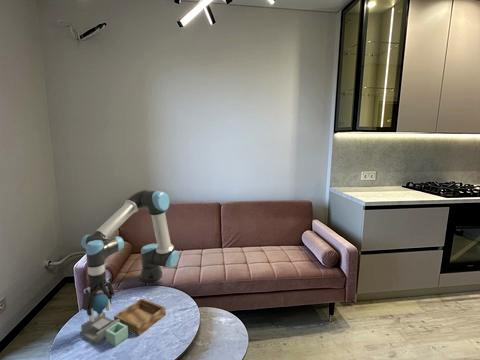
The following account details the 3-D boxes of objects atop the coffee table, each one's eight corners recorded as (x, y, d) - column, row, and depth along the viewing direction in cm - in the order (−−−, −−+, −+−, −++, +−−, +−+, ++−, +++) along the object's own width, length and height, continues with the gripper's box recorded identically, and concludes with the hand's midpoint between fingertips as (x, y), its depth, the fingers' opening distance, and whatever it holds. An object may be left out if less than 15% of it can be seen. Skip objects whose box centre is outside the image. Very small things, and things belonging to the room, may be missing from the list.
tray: (142, 305, 160) (141, 298, 160) (165, 315, 151) (165, 307, 151) (114, 323, 144) (113, 316, 144) (139, 335, 135) (138, 327, 135)
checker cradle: (105, 319, 148) (104, 310, 147) (122, 327, 141) (122, 318, 141) (79, 335, 136) (78, 325, 135) (97, 345, 129) (96, 335, 129)
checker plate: (102, 320, 142) (102, 318, 142) (110, 323, 139) (110, 321, 139) (91, 326, 137) (91, 325, 137) (99, 330, 134) (99, 329, 134)
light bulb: (101, 323, 133) (100, 300, 131) (86, 320, 134) (84, 298, 132) (113, 312, 141) (111, 290, 139) (98, 310, 142) (96, 288, 141)
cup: (118, 332, 138) (118, 321, 137) (128, 337, 134) (127, 326, 133) (106, 341, 132) (105, 330, 131) (115, 346, 128) (115, 335, 127)
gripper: (110, 262, 145) (113, 302, 148) (70, 280, 127) (74, 325, 130) (120, 265, 141) (123, 306, 145) (80, 284, 123) (84, 330, 126)
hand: (100, 315), depth 137 cm, fingers closed on light bulb, 8 cm apart
